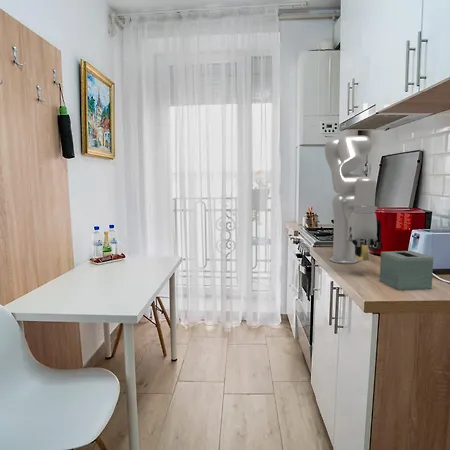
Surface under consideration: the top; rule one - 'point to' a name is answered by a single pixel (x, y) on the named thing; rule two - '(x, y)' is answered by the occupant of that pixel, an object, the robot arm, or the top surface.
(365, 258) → the wooden block
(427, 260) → the coin box
